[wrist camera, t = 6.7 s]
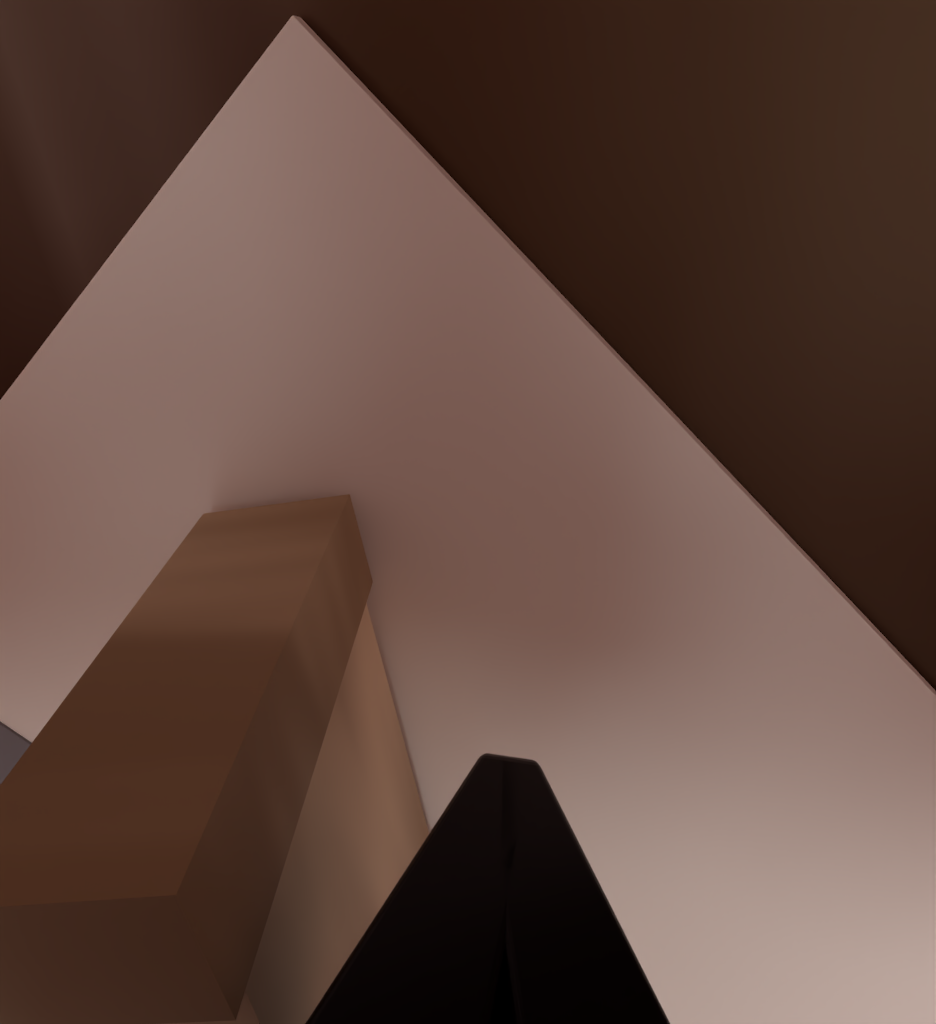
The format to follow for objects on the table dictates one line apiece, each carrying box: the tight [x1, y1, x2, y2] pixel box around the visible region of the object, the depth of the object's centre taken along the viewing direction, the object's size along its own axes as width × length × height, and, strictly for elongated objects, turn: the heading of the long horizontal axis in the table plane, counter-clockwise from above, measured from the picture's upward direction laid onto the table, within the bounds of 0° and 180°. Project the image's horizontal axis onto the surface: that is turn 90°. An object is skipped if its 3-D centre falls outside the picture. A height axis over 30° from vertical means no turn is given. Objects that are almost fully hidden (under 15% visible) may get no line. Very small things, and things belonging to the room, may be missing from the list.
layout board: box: [0, 15, 936, 1024], centre depth 14 cm, size 22×17×1 cm
